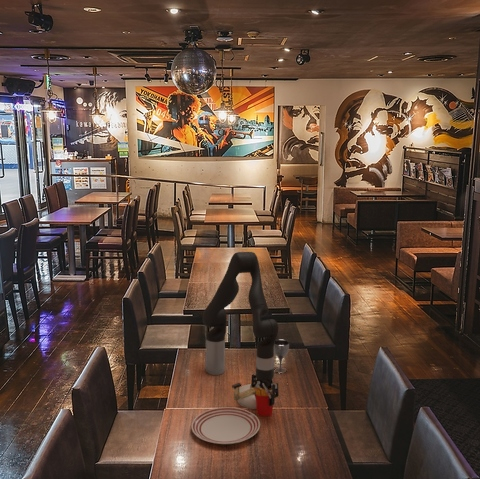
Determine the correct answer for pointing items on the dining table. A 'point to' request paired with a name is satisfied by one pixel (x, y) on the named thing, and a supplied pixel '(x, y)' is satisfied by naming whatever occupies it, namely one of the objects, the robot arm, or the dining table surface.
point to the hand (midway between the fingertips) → (264, 401)
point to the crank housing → (247, 398)
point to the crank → (242, 394)
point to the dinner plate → (225, 425)
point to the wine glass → (281, 352)
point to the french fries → (263, 402)
